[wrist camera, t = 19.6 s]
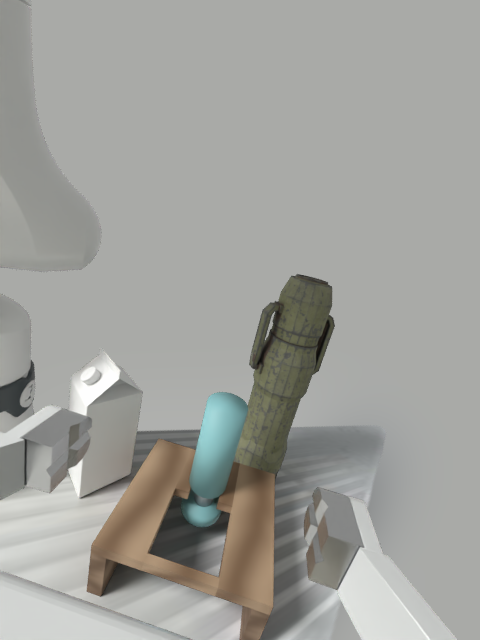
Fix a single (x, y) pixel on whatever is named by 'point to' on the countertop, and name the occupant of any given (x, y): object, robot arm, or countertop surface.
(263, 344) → the thermos
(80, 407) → the milk carton
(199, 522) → the teal necked cylinder
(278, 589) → the countertop surface
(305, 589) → the countertop surface
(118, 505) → the keyhole bridge
